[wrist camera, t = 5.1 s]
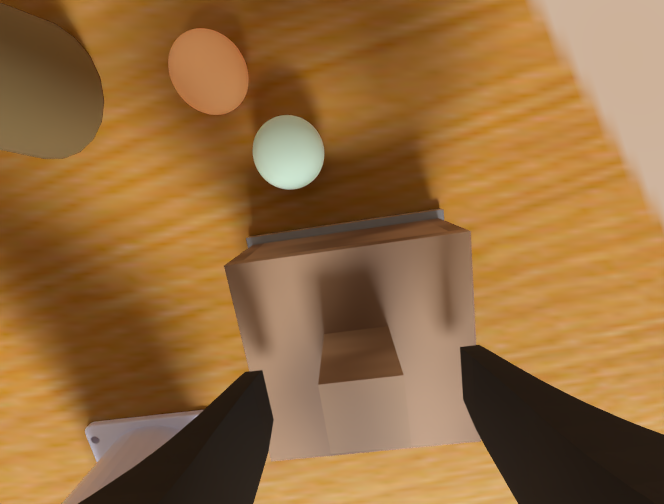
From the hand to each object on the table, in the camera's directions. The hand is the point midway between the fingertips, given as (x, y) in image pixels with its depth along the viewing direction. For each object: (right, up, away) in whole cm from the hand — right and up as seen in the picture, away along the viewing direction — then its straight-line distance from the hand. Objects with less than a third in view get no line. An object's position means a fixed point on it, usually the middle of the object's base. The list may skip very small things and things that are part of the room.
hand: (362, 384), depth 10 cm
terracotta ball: (-6, +12, +3) cm, 14 cm away
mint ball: (-3, +9, +4) cm, 10 cm away
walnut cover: (0, +1, +5) cm, 5 cm away
